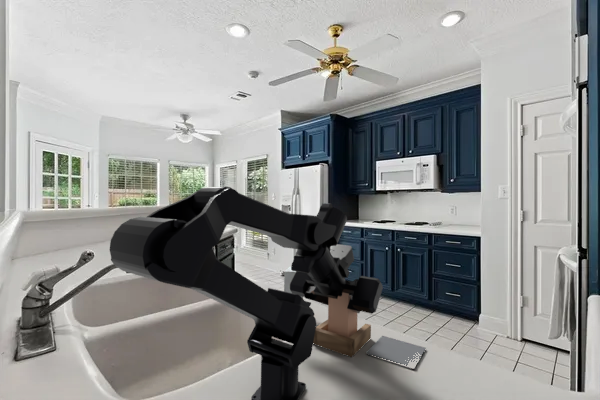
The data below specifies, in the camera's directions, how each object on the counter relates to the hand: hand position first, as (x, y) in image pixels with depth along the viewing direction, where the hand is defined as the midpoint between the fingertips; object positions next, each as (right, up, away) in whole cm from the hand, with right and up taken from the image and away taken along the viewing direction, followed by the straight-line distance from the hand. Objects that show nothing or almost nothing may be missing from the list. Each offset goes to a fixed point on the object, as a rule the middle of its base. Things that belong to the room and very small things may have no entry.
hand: (346, 307), depth 64 cm
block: (-1, -7, -1) cm, 7 cm away
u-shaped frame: (-1, -7, -1) cm, 7 cm away
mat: (+9, -7, -6) cm, 13 cm away
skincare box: (-12, -7, +13) cm, 18 cm away
